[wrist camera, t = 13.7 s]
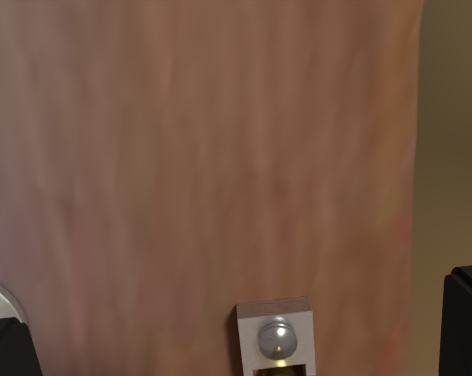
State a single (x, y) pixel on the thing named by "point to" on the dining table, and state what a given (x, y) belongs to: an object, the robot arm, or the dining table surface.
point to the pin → (278, 371)
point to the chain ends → (276, 334)
